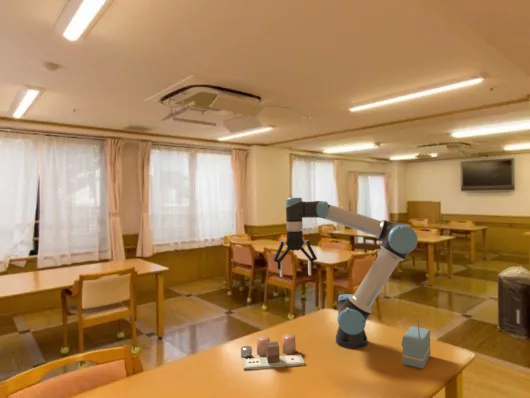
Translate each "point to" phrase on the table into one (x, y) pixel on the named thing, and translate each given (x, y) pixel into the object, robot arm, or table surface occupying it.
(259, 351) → the pink capsule pill
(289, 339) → the peach capsule
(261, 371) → the table surface
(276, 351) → the walnut block
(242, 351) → the tin
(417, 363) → the radio
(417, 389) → the table surface
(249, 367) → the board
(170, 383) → the table surface
